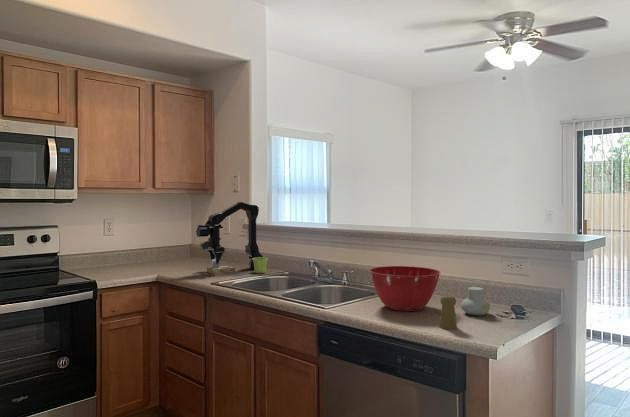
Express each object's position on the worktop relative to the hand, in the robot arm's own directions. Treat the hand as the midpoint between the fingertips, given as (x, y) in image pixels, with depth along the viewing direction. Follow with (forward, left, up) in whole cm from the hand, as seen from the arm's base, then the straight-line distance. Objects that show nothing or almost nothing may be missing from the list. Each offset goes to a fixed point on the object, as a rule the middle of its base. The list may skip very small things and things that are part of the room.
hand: (214, 262), depth 287 cm
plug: (0, 0, -6) cm, 6 cm away
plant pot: (-24, +12, -6) cm, 27 cm away
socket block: (-4, 0, -6) cm, 7 cm away
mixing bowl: (-42, +121, -6) cm, 129 cm away
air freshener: (-60, +143, -6) cm, 155 cm away
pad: (-11, +10, -6) cm, 16 cm away
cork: (-37, +152, -6) cm, 157 cm away
